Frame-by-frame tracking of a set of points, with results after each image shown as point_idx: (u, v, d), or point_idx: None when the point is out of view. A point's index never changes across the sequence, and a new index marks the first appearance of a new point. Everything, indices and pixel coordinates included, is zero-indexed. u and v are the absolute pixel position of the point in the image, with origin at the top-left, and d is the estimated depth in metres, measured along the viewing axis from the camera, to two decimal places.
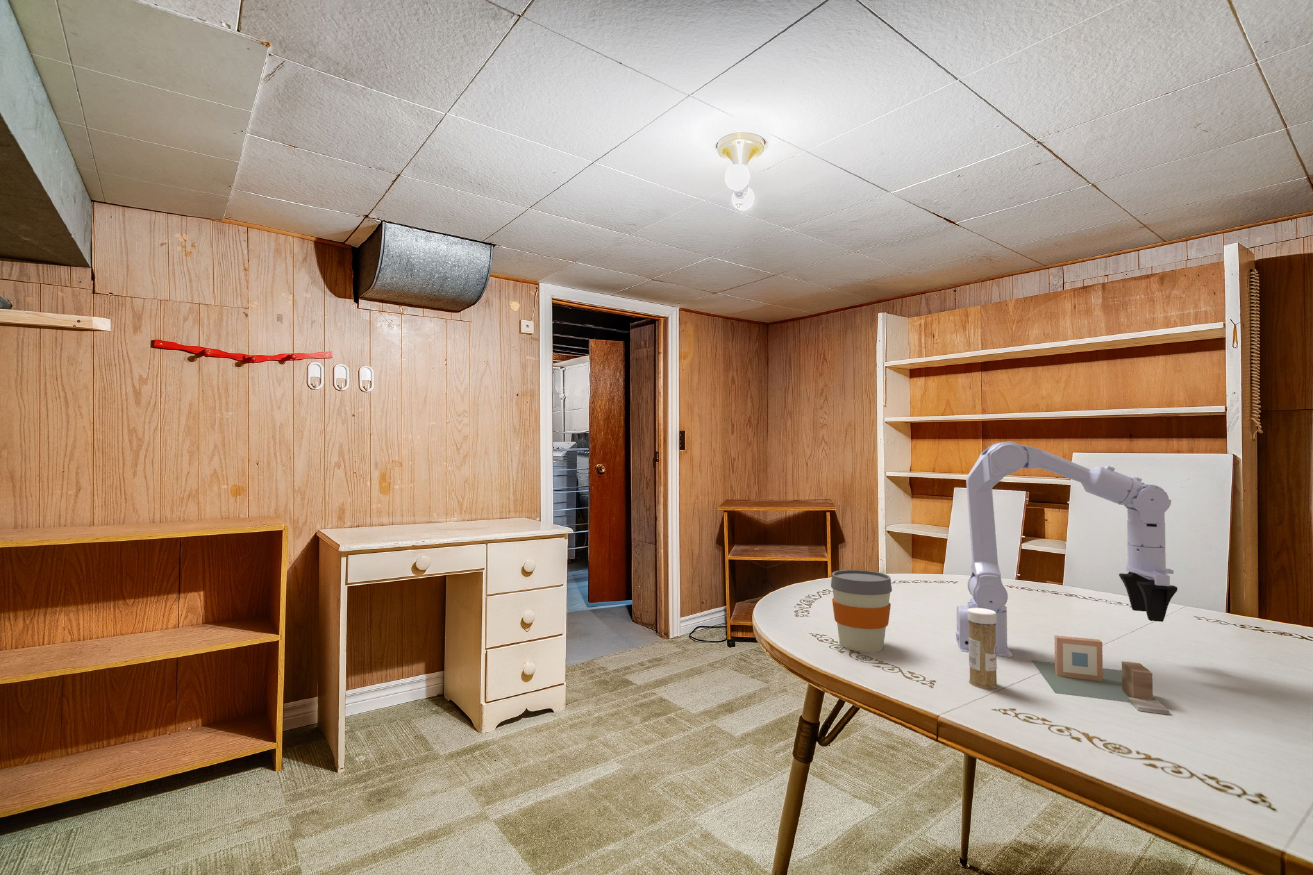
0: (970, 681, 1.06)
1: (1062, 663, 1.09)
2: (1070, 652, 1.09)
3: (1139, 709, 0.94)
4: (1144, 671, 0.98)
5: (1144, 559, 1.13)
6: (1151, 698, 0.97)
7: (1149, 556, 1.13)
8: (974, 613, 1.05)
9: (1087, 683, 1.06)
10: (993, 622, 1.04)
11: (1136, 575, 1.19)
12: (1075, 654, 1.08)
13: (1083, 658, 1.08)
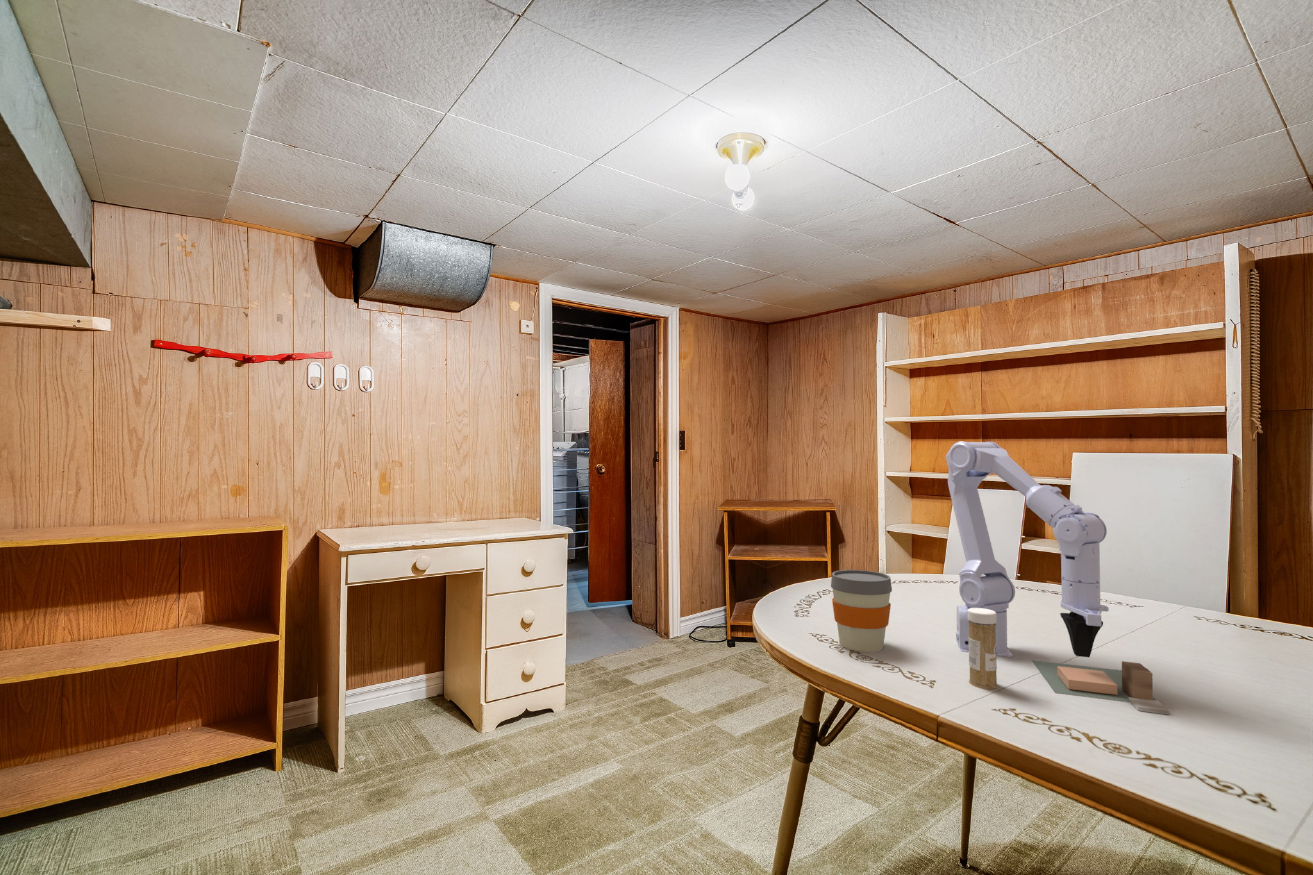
0: (970, 681, 1.06)
1: None
2: None
3: (1139, 709, 0.94)
4: (1144, 671, 0.98)
5: (1077, 595, 1.05)
6: (1151, 698, 0.97)
7: (1082, 592, 1.05)
8: (974, 613, 1.05)
9: None
10: (993, 622, 1.04)
11: None
12: None
13: None
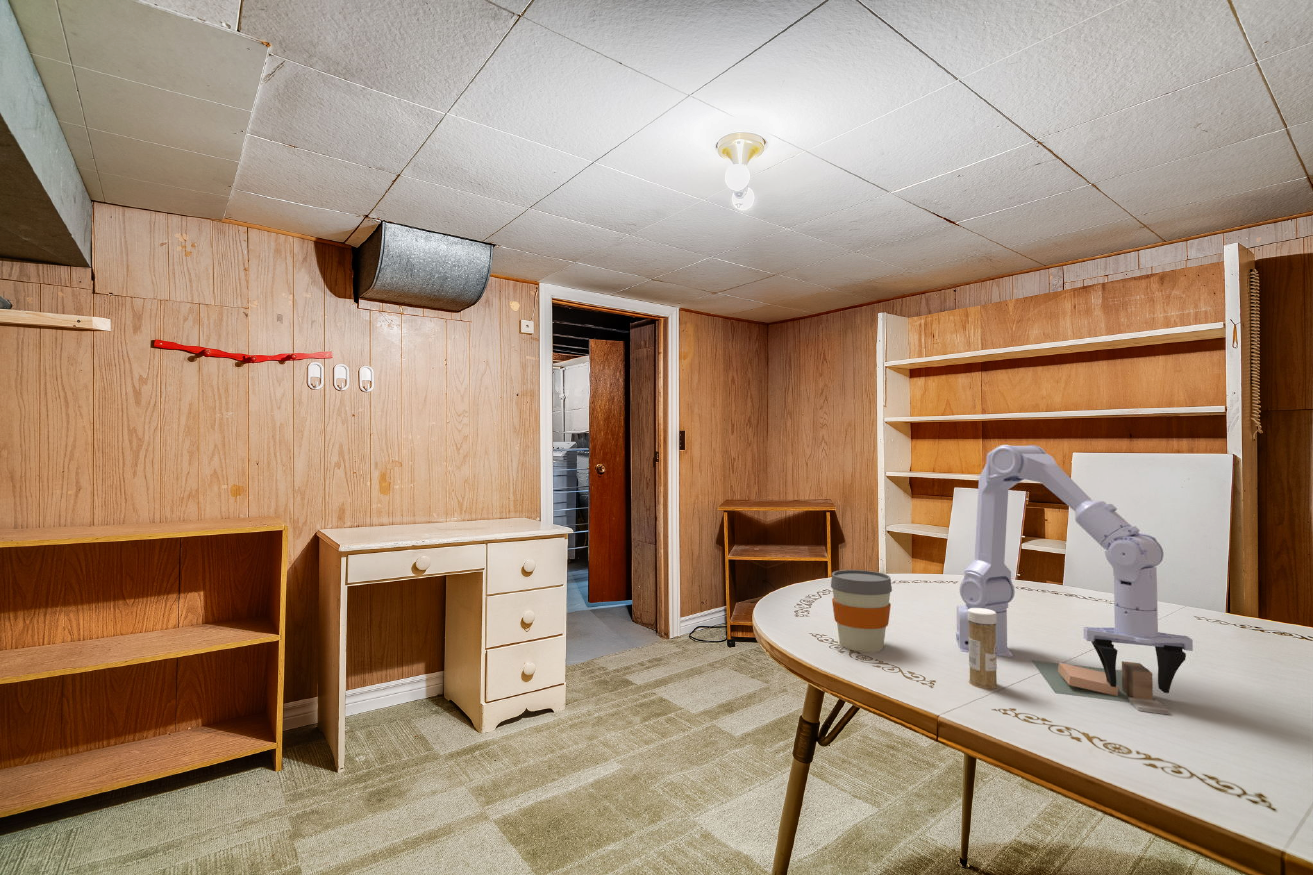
0: (970, 681, 1.06)
1: None
2: None
3: (1139, 709, 0.94)
4: (1144, 671, 0.98)
5: None
6: (1151, 698, 0.97)
7: None
8: (974, 613, 1.05)
9: None
10: (993, 622, 1.04)
11: (1161, 647, 0.99)
12: None
13: None
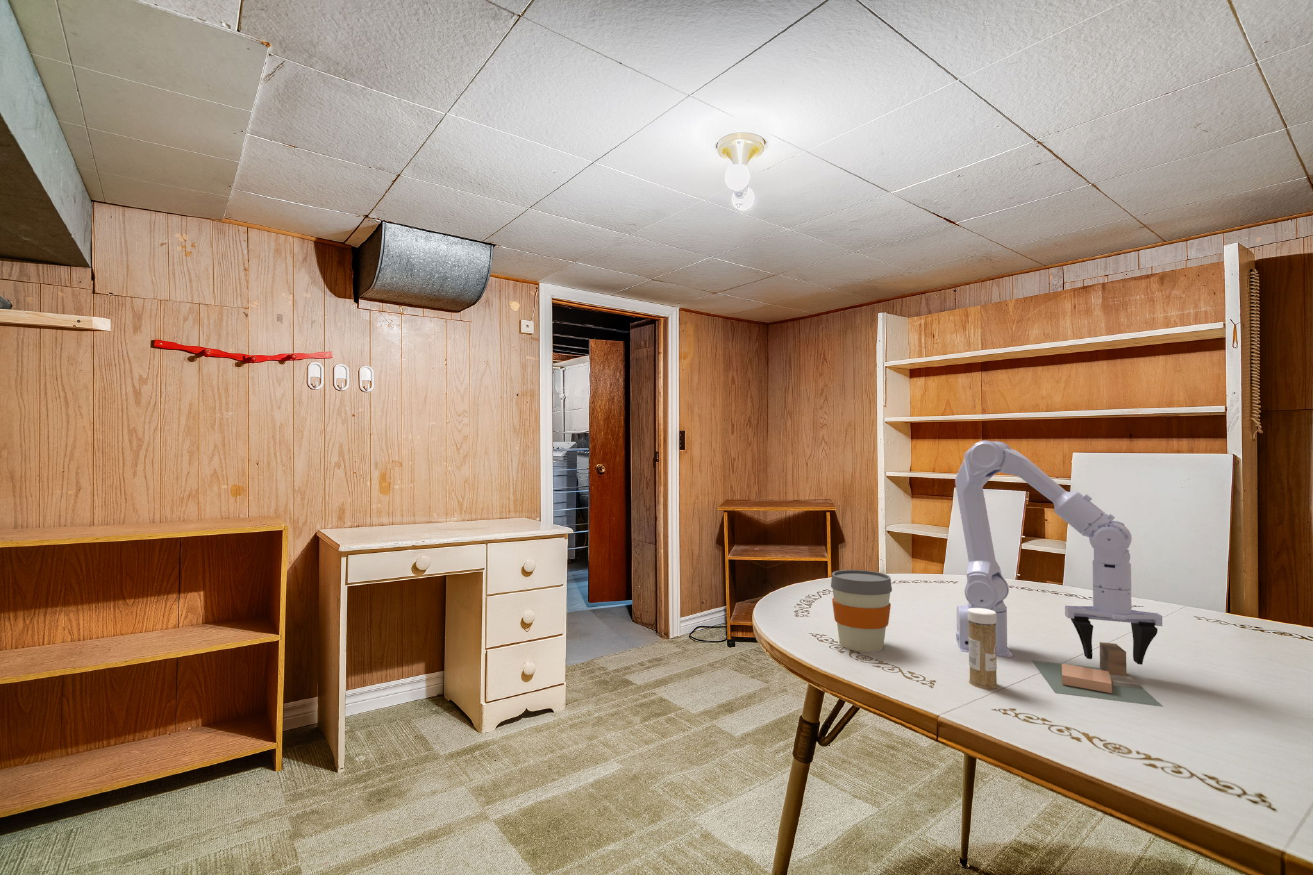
0: (970, 681, 1.06)
1: None
2: None
3: (1114, 684, 1.05)
4: (1118, 650, 1.09)
5: None
6: (1125, 674, 1.08)
7: (1093, 594, 1.12)
8: (974, 613, 1.05)
9: None
10: (993, 622, 1.04)
11: (1136, 623, 1.09)
12: None
13: None
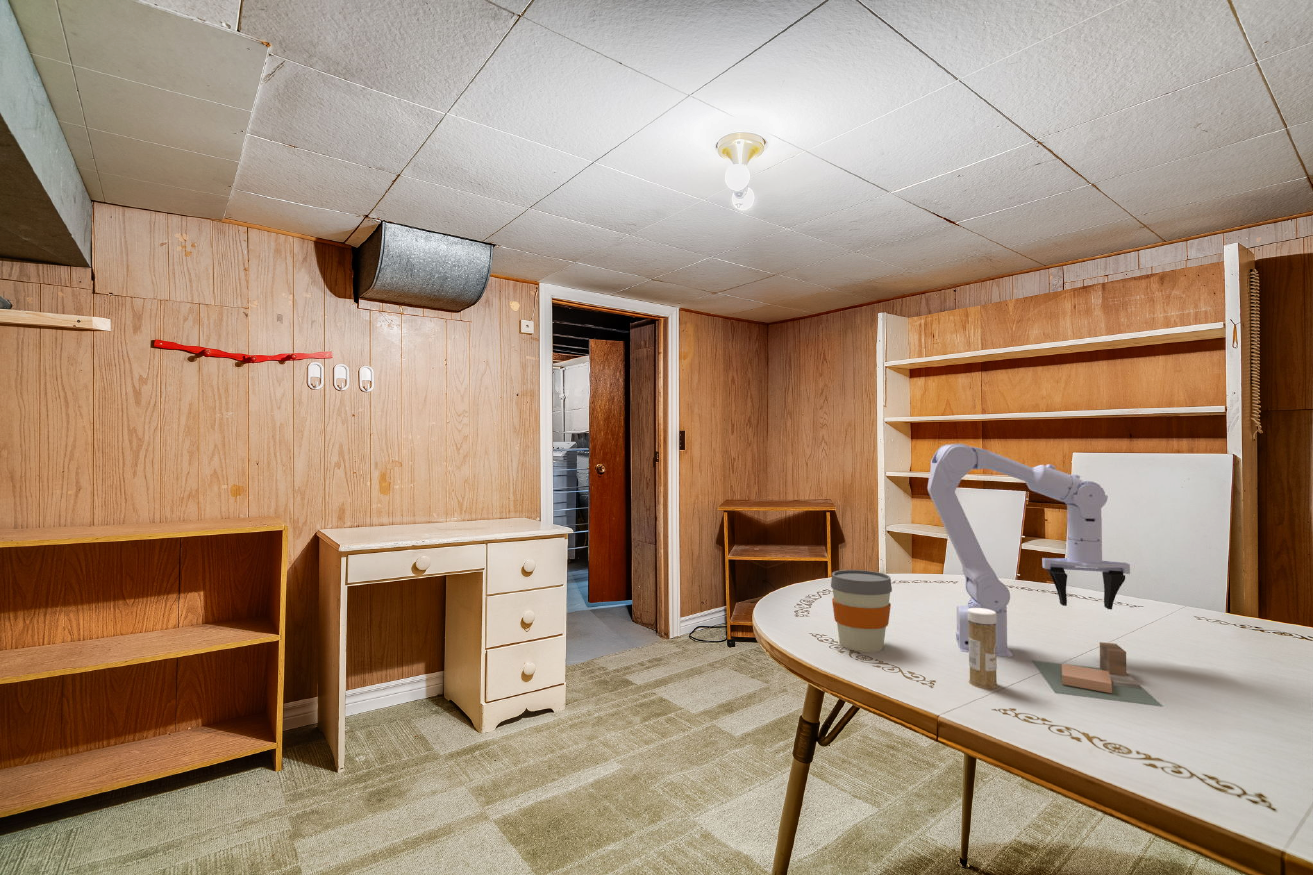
0: (970, 681, 1.06)
1: None
2: None
3: (1114, 684, 1.05)
4: (1118, 650, 1.09)
5: None
6: (1125, 674, 1.08)
7: None
8: (974, 613, 1.05)
9: None
10: (993, 622, 1.04)
11: (1106, 572, 1.20)
12: None
13: None
